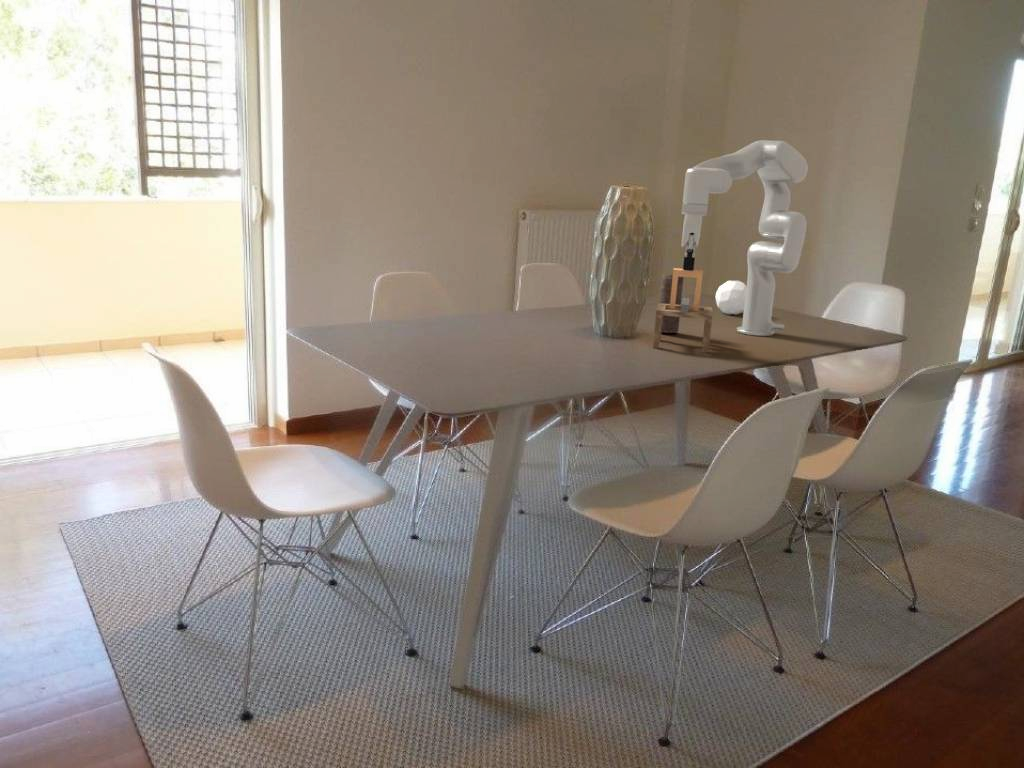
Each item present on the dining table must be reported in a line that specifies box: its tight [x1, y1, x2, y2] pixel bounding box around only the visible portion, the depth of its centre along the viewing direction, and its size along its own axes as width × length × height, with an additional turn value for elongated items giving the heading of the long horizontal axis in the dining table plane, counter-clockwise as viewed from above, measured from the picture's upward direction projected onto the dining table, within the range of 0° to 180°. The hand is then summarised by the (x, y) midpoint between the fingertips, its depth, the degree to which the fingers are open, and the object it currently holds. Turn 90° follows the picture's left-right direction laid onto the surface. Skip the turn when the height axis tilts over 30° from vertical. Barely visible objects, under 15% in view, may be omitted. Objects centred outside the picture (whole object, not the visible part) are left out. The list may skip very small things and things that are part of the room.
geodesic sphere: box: [715, 279, 747, 316], centre depth 340 cm, size 14×14×14 cm
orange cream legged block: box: [670, 253, 704, 310], centre depth 273 cm, size 9×5×17 cm, turn 78°
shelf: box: [652, 303, 714, 354], centre depth 277 cm, size 17×14×12 cm
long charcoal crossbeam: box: [680, 297, 691, 313], centre depth 275 cm, size 2×14×2 cm, turn 168°
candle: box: [659, 274, 685, 334], centre depth 295 cm, size 8×7×20 cm
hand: (688, 268), depth 272 cm, fingers closed on orange cream legged block, 4 cm apart
